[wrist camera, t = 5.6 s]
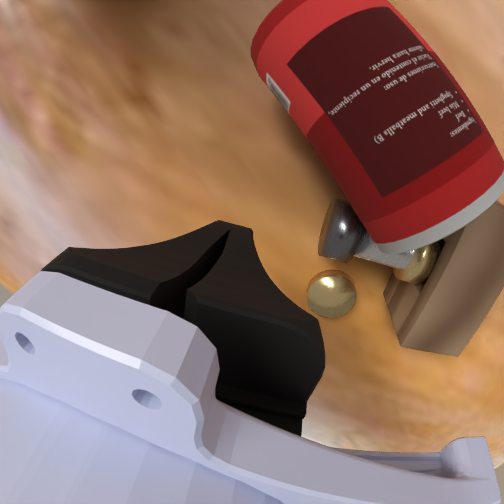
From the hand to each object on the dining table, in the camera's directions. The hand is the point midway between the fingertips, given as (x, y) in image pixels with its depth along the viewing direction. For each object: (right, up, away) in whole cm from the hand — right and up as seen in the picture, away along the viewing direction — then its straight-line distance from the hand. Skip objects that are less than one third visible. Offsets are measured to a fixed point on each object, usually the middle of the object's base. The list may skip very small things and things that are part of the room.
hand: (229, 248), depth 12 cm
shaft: (+11, 0, +8) cm, 14 cm away
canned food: (+4, +11, +1) cm, 12 cm away
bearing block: (+14, 0, +9) cm, 17 cm away
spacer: (+7, -3, +12) cm, 14 cm away
